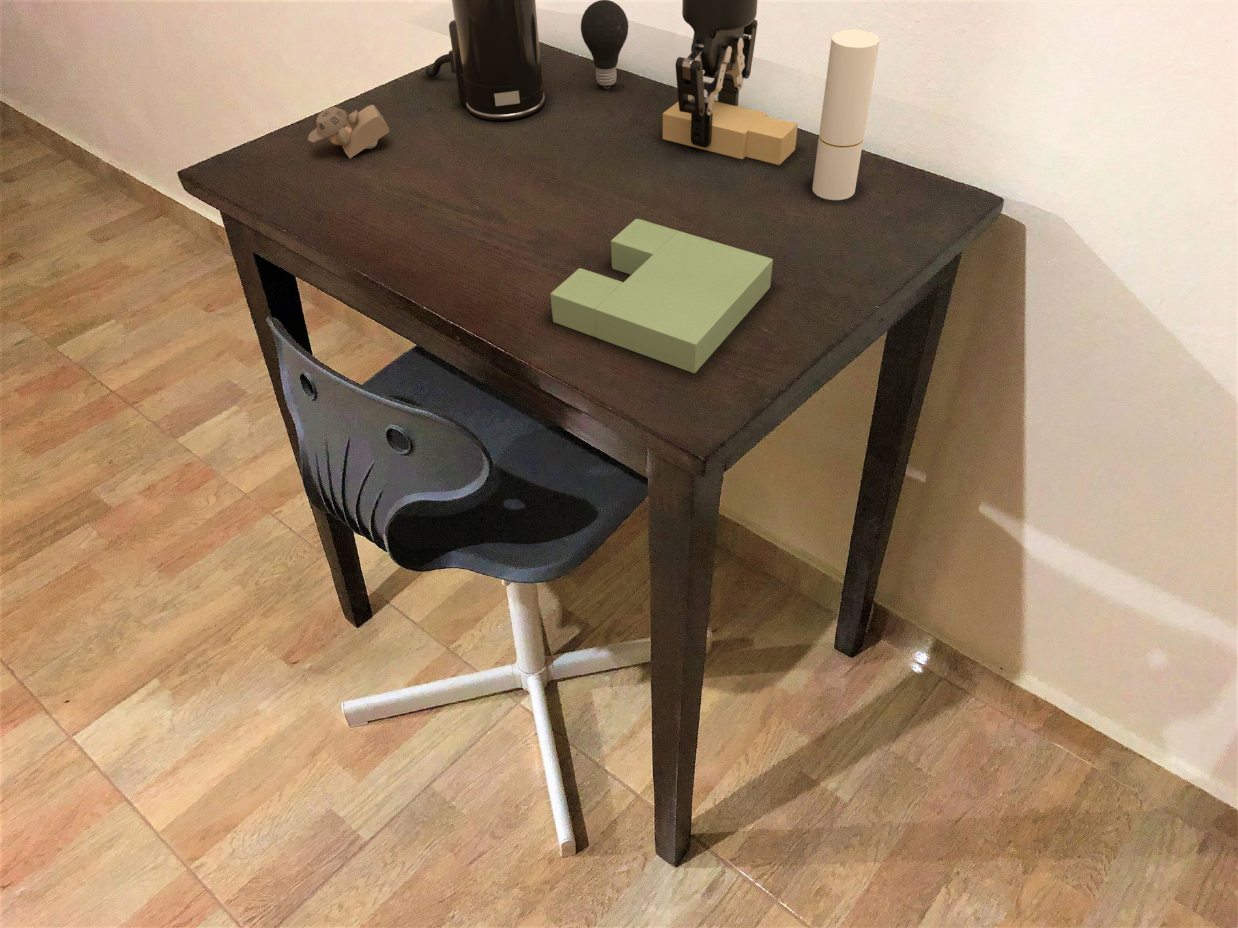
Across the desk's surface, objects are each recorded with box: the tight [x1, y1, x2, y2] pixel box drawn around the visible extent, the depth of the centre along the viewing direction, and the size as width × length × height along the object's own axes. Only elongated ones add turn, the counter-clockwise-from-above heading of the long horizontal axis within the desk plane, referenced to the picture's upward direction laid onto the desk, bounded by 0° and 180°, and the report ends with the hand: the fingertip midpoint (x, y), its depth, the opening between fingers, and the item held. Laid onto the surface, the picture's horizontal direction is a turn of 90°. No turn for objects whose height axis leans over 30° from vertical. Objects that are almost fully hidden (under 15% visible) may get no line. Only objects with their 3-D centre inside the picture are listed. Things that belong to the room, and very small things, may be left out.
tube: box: [812, 29, 881, 201], centre depth 90 cm, size 4×4×15 cm
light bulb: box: [580, 0, 629, 89], centre depth 111 cm, size 6×6×10 cm
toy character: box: [307, 104, 390, 159], centre depth 103 cm, size 4×8×6 cm, turn 112°
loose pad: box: [662, 95, 799, 166], centre depth 102 cm, size 14×6×3 cm, turn 58°
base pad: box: [550, 218, 774, 374], centre depth 81 cm, size 14×14×3 cm
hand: (714, 133), depth 103 cm, fingers closed on loose pad, 5 cm apart
